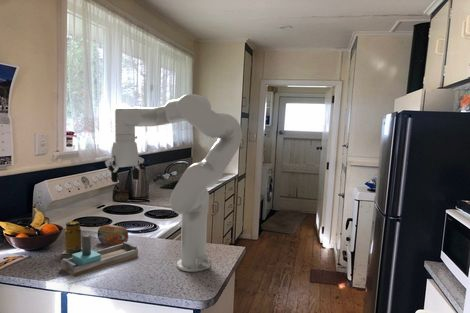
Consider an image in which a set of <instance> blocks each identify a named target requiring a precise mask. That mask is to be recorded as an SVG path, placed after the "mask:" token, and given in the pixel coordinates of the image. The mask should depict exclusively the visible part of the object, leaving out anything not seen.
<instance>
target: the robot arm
mask: <svg viewBox="0 0 470 313" xmlns="http://www.w3.org/2000/svg"><path fill="white" fill-rule="evenodd" d="M114 117H115V118H114V120H115V122H114V123H115V124H114V127H115V129H114V130H115V131H114V132H115V136H114V138H115V141H114V142H113V143H112V147H111V156H110V158H108V159H106V160H105V161H104V164H105V167H106V168H107V169H108V170H109V171H110V173H111V174H110V176H111V178H110V180H111V182H112V183H118V180H119V177H118V175H119V174H118V170H119V168H126V167H128V168H129V167H132V168H133V169H132V179H133V180H136V181H138V180H139V178H140V170H141V168H142V167H143V164H144V163H145V159H144V158H143V157H141V156H139V151H138V145H137V144H138V143H137V142H136V140H137V139H138V136H137V135H136V127H141V128H142V127H157V126H164V125H169V124H175V123H181V122H187V123H189V124H190V125H192V126H193V127H194V128H195V129H197V131H199V132H200V133H201V134H202V135H204V136H206V137H208V138H210V139H217V140H216V141H215V142H214V144H213V145H212V147H211V148H210V149H209V151H208V153H207V154H206V156H205V157H204V158H203V159H202V160H201V161H199V162H195V163H192V164H191V165H190V166H188V167H187V168H186V169H185V170H184V172H183V174H182V175H181V177H180V178H179V180H178V182H177V183H176V184H175V187H174V188H173V190H172V191H171V194H170V197H169V205H170V209H171V210H172V211H173V212H174V213H175V214H177V215H181V222H180V223H181V224H180V228H181V229H180V230H181V231H180V232H181V234H180V237H181V238H180V239H181V240H180V242H181V243H180V248H181V249H180V259H178V260H177V262H176V267H177V269H178V270H180V271H183V272H187V273H188V272H190V273H196V272H202V271H206V270H207V269H209V268H211V265H213V261H212V260H209V255H208V254H207V226H208V225H207V224H208V220H207V219H208V208H209V204H210V203H209V202H210V193H209V190H208V188H210V187H213V186H215V185H216V184H217V183H218V182H219V180H220V179H221V177H222V176H223V174H224V172H225V171H226V169H227V168H228V166H229V165H230V163H231V161H232V159H233V158H234V157H235V155H236V153H237V152H238V150H239V148H240V146H241V143H242V140H243V139H242V138H243V131H242V127H241V124H240V122H239V121H238V120H237V118H235V116H233V115H231V114H227V113H217V112H215V111H214V110H213V109H212V104H211V102H210V100H209V99H208V98H207V97H205V96H203V95H199V94H193V93H187V94H184V95H182V96H181V97H180V98H177V99H176V98H175V99H171V100H168V101H167V102H166V103H165V105H162V106H157V107H145V106H144V107H143V106H141V107H140V106H134V107H117V108H116V109H115V110H114Z"/></svg>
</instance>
